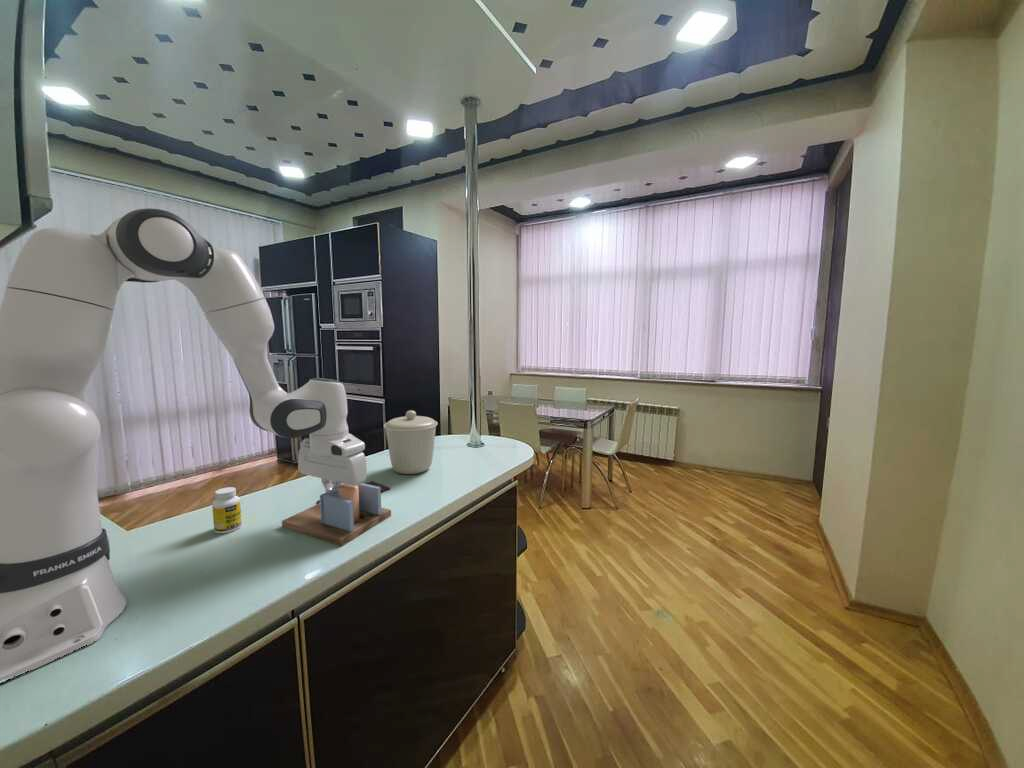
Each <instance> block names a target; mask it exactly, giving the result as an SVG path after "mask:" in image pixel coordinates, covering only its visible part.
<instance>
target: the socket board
mask: <svg viewBox="0 0 1024 768" xmlns="http://www.w3.org/2000/svg"><path fill="white" fill-rule="evenodd" d="M391 516H392V510H391V509H389V508H384V507H381V514H379V515H377V514H373V513H369V512H365V511H362V510H360V521H359V522H357V523H355V524H354V530H352V531H347V530H344V529H340V528H337V527H334V526H330V525H327V524H324V523H321V507H320V503H319V504H318V503H316V504H315V505H313V506H312V507H308V508H307V509H304V510H302V511H300V512H298V513H296V514H294V515H291V516H289V517H287V518H285V519H283V520H281V527H282V528H285V529H288V530H291V531H294V532H297V533H300V534H303V535H307V536H309V537H313V538H316V539H319V540H323V541H325V542H329V543H331V544H334V545H338V546H340V547H343V546H344V545H346V544H349V542H351V541H353V540H354V539H357V537H359V536H360V535H362V534H364V533H366V532H368V531H369V530H370V529H372V528H373V527H375V526H377V525H378V524H380V523H381V522H383V521H385V520H387V519H388V518H389V517H391Z"/></svg>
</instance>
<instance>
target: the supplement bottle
mask: <svg viewBox="0 0 1024 768" xmlns="http://www.w3.org/2000/svg"><path fill="white" fill-rule="evenodd" d="M236 494H237V490H236V487H233V486H228V487H223V488H220V489H217V490H215V491H214V497H215V499H214V500H213V502H212V504H211V505H212V506H211V507H212V508H211V509H212V518H213V519H212V520H213V530H214V532H215V533H216V534H228V533H232V532H235V531H237V530H239V528H241V527H242V521H243V520H242V508H241V498H240V497H239V496H237V495H236Z"/></svg>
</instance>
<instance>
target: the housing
mask: <svg viewBox="0 0 1024 768" xmlns="http://www.w3.org/2000/svg"><path fill="white" fill-rule="evenodd" d="M358 488H359V510H362V511H365V512H369V513H373V514H377V515H379V514H381V508H382V496H381V495H382V493H381V488H380V487H377V486H373V485H368V484H365V483H364V482H362V483H360V484H358ZM319 500H320V507H321V523H324V524H327V525H330V526H334V527H337V528H340V529H344V530H347V531H352V530H354V519H353V501H350V500H346V499H342V498H339V494H338V488H336V489H333V490H331V491H329V492H326V491H325V492H324V493H323V494H320V495H319Z"/></svg>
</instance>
